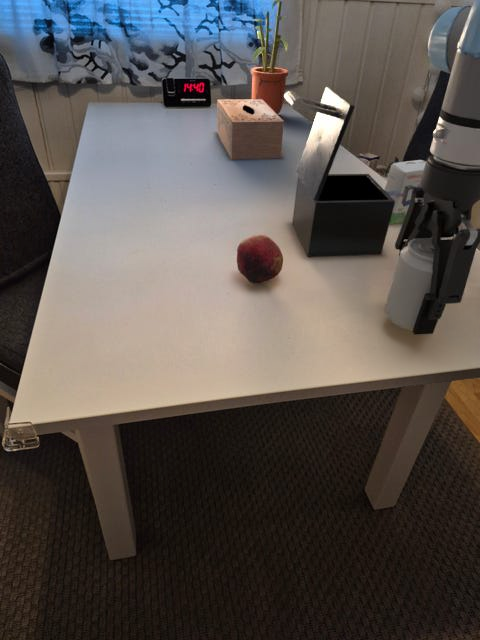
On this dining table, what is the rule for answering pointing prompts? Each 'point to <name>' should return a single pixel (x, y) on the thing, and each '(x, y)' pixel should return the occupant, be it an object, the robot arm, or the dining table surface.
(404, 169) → the ink box
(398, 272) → the can
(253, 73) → the potted plant
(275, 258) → the fruit
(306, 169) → the bin lid
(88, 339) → the dining table surface
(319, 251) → the bin
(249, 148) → the tissue box cover
